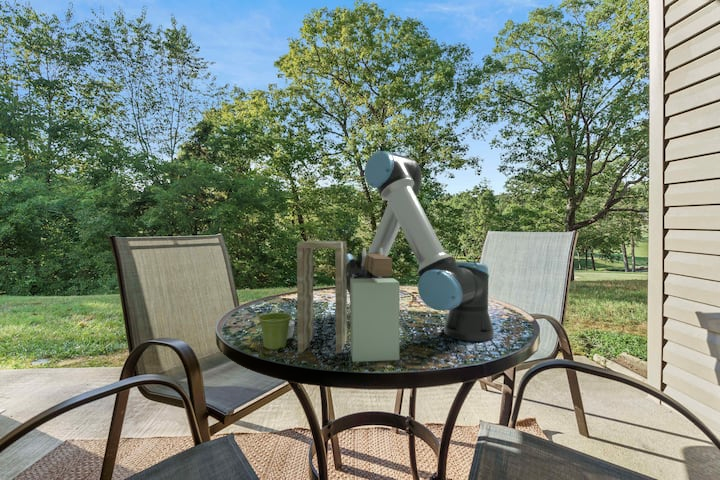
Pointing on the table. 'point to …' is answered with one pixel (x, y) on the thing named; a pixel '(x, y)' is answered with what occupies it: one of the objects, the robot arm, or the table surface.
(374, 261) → the rail
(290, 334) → the ramekin
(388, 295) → the block
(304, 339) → the bridge
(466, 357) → the table surface
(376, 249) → the robot arm
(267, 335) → the plant pot
